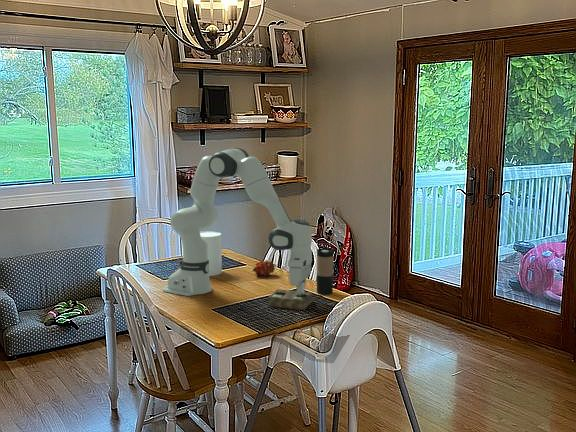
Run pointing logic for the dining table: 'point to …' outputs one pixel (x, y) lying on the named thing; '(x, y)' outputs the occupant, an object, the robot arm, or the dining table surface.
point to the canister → (213, 251)
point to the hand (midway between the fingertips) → (300, 290)
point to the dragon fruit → (264, 268)
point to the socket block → (289, 299)
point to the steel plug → (302, 293)
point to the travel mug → (325, 271)
